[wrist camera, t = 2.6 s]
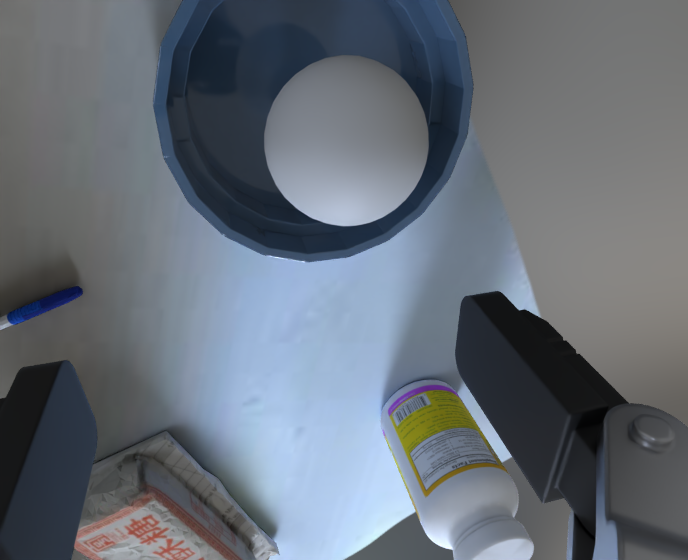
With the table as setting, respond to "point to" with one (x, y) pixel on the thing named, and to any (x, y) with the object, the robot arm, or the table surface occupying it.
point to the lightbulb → (346, 140)
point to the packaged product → (164, 510)
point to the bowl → (264, 86)
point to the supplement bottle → (453, 474)
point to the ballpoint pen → (40, 306)
